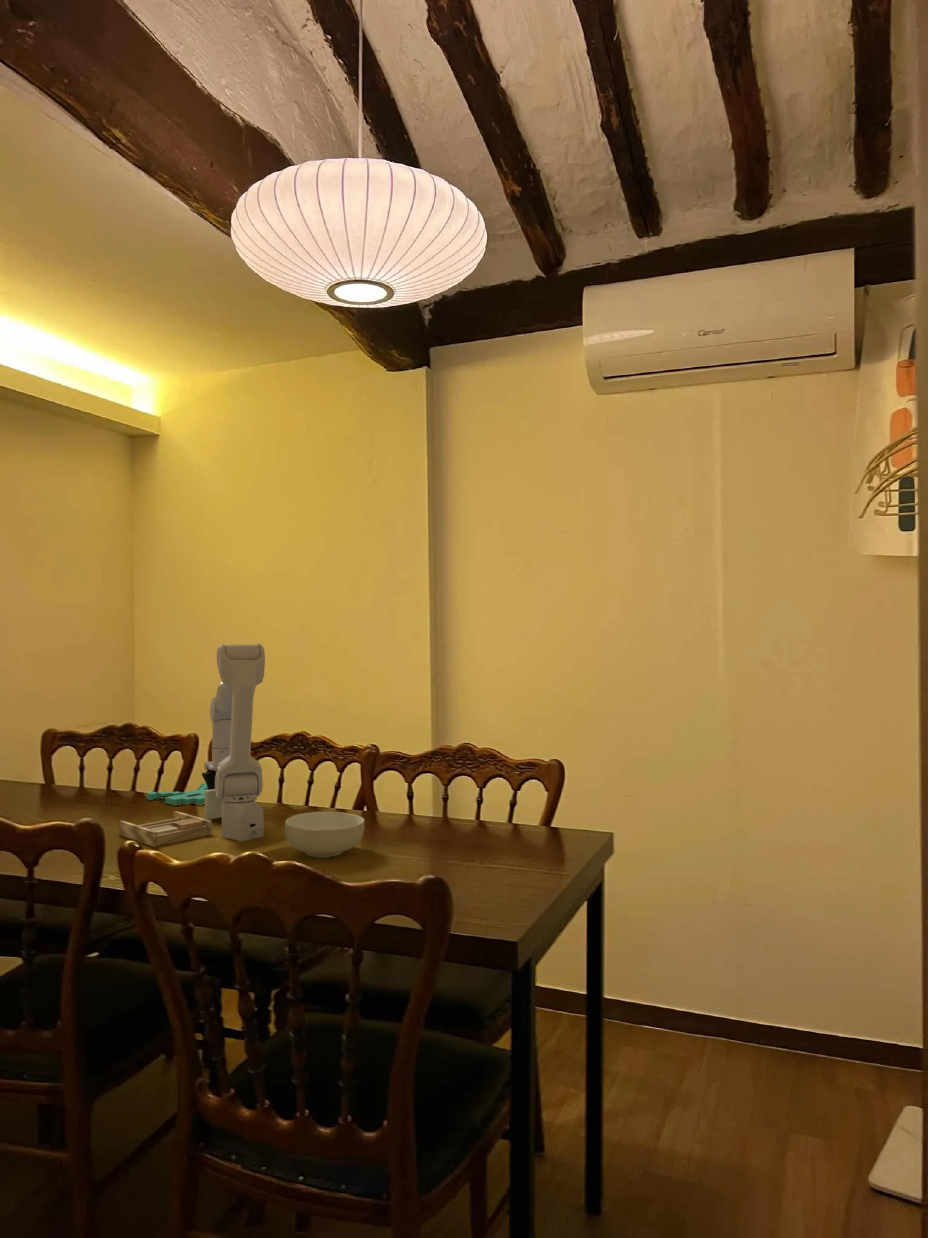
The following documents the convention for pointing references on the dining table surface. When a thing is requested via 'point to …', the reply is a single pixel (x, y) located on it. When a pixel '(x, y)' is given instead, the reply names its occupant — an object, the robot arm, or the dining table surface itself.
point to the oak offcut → (187, 824)
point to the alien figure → (181, 796)
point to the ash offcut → (164, 829)
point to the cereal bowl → (324, 832)
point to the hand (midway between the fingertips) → (223, 802)
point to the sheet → (212, 805)
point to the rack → (152, 839)
